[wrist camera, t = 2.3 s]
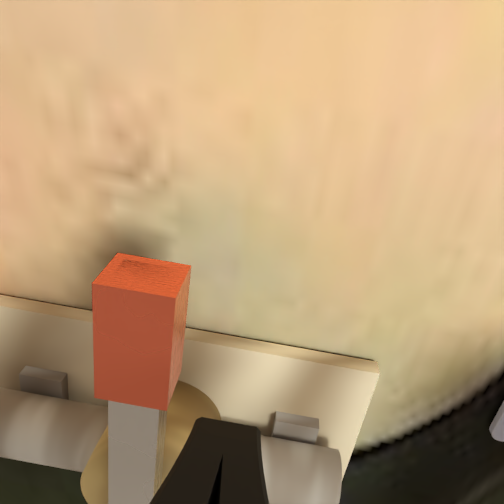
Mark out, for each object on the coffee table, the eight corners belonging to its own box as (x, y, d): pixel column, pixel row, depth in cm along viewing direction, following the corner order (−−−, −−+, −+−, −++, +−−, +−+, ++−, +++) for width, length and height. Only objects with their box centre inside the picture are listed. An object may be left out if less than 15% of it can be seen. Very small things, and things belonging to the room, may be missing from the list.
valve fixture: (377, 361, 20) (398, 451, 16) (328, 502, 24) (334, 602, 20) (-13, 292, 20) (-98, 361, 16) (9, 443, 25) (-52, 528, 20)
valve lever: (169, 521, 18) (157, 568, 17) (113, 511, 18) (94, 556, 17) (194, 266, 13) (179, 298, 11) (114, 252, 13) (88, 282, 11)
